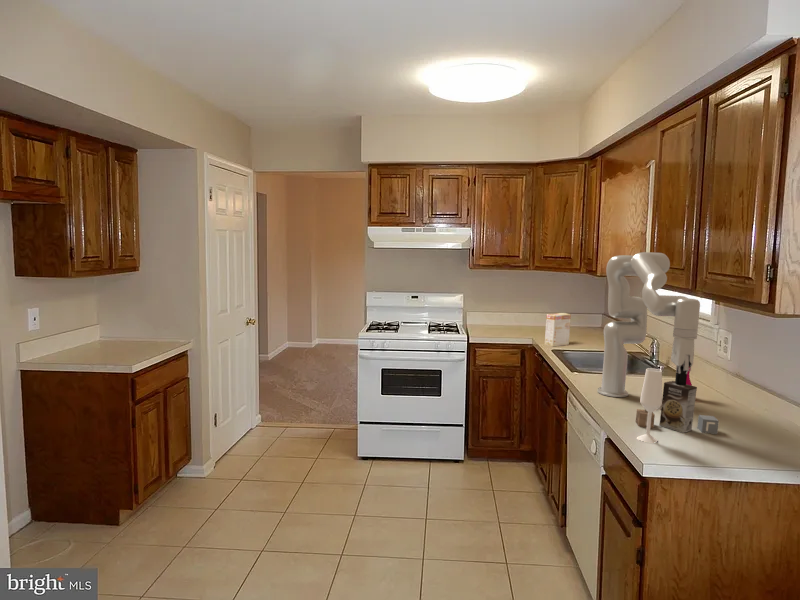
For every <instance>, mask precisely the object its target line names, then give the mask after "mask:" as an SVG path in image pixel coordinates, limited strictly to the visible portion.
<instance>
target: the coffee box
mask: <svg viewBox="0 0 800 600" xmlns="http://www.w3.org/2000/svg"><path fill="white" fill-rule="evenodd" d="M697 390H698V387H697V386H695V385H692V386H691V385H687V384H686V385H677V384H676V383H675V380H671V381H665V382H663V388H662V405H661V406H660V418H659V426H661V427H664V428H667V429H670V430H673V431H676V432H679V433H682V434H684V433H687V432H690V431H692V430H693V429H692V428H693V422H694V414H695V413H694V412H695V406H696V405H695V403H696V398H697V397H696V395H697Z"/></svg>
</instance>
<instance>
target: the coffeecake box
mask: <svg viewBox="0 0 800 600" xmlns="http://www.w3.org/2000/svg"><path fill="white" fill-rule="evenodd" d="M571 318H572V314H570V313H566V312H556V313H546V320H545V333H544V334H545V335H544V346H548V347H560V346H561V347H563V346H569V343H570V333H571V320H572V319H571Z"/></svg>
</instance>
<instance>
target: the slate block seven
mask: <svg viewBox="0 0 800 600" xmlns="http://www.w3.org/2000/svg"><path fill="white" fill-rule="evenodd" d="M719 422H720V421H719V420H718V419H717V417H715V416H714V415H704V414H698V418H697V427H696V428H697V429H698V431H699V432H700V433H701V434H709V433H711V435H712V434H713V435H718V431H719Z"/></svg>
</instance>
